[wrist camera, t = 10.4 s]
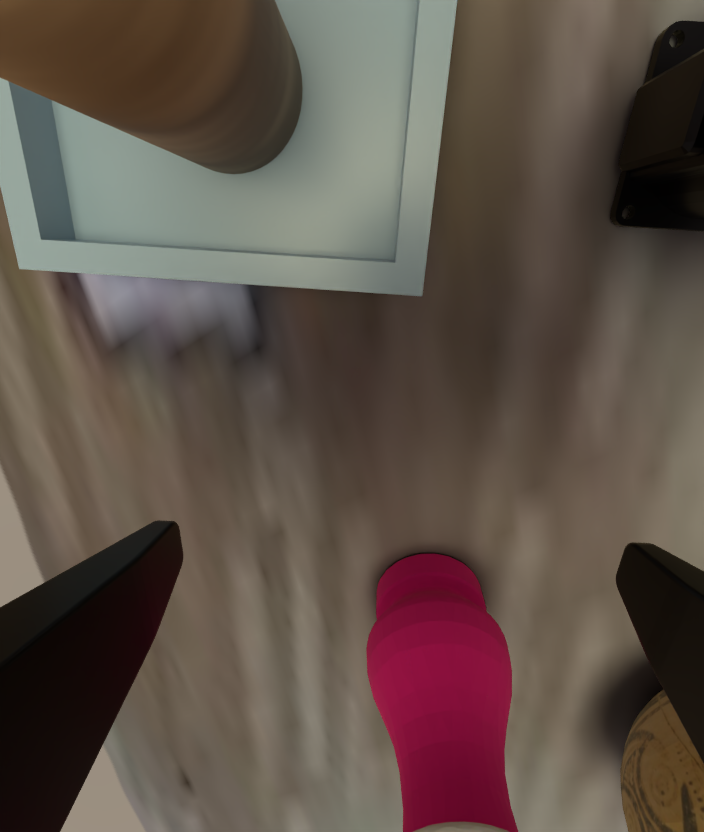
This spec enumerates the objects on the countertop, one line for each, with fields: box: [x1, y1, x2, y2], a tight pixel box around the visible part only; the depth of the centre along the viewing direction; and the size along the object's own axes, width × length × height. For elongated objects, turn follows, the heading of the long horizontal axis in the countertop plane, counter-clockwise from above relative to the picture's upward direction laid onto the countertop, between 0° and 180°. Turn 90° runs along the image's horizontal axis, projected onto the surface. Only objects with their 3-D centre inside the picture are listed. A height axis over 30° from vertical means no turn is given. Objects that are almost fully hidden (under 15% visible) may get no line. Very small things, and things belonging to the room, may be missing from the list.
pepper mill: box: [367, 554, 518, 832], centre depth 17 cm, size 7×7×20 cm
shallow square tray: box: [0, 0, 457, 296], centre depth 15 cm, size 14×12×5 cm
